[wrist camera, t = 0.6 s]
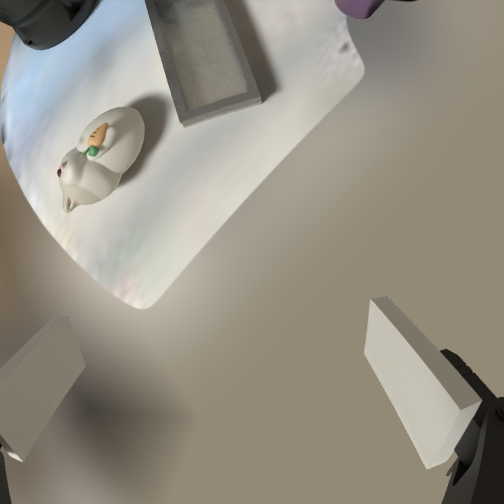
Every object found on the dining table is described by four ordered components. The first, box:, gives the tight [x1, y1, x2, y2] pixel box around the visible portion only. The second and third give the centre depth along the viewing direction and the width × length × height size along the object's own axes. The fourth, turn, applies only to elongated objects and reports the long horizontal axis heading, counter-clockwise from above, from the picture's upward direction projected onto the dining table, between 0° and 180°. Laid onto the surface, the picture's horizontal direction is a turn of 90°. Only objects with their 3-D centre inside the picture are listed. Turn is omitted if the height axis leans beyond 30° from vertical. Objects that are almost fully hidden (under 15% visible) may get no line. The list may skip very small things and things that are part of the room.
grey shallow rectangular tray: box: [145, 0, 262, 128], centre depth 29 cm, size 20×10×4 cm, turn 17°
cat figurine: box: [57, 107, 145, 213], centre depth 31 cm, size 10×8×15 cm
